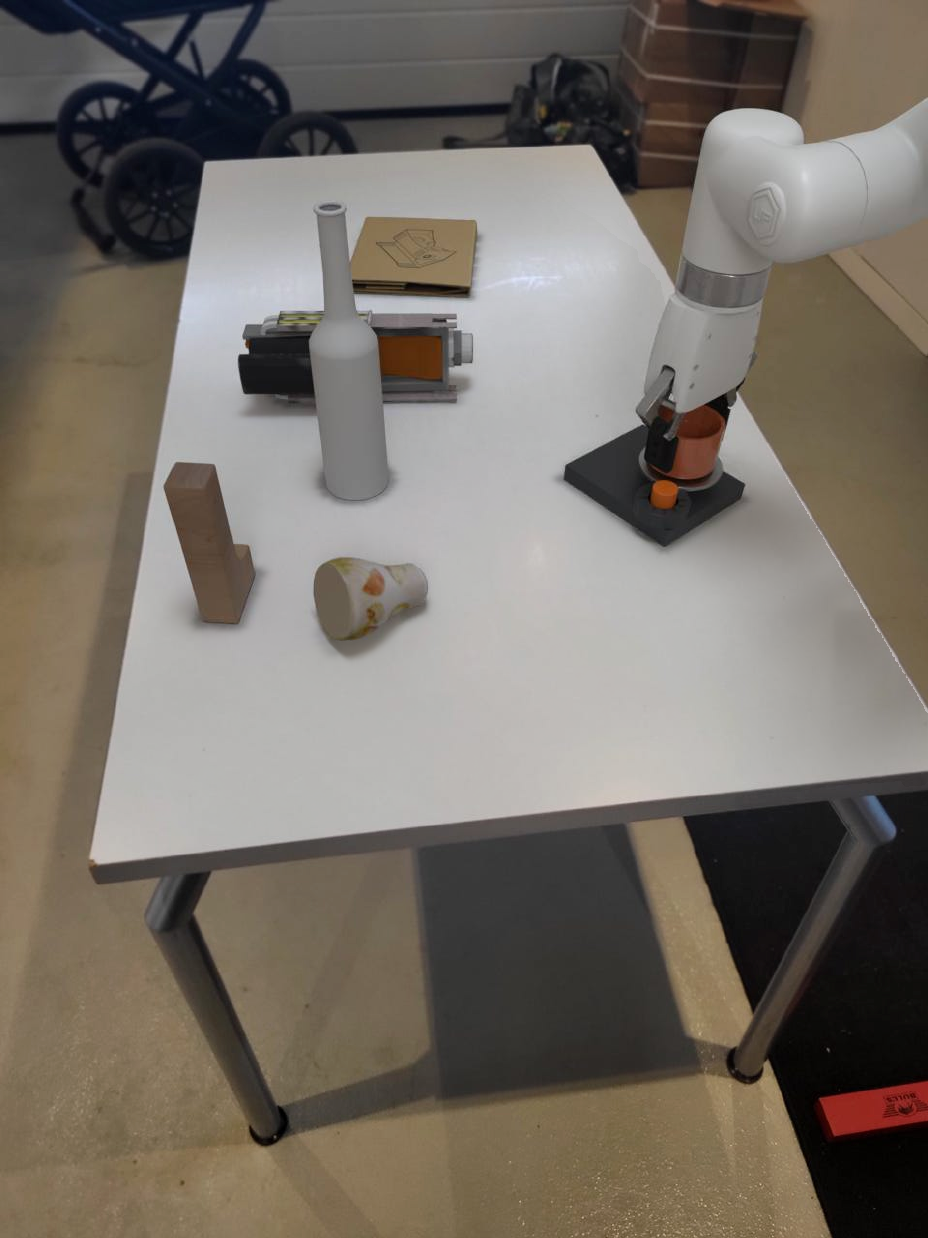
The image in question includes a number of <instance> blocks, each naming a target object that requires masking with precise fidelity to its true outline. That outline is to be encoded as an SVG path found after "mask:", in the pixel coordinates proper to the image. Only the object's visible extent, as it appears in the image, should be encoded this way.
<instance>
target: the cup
mask: <svg viewBox="0 0 928 1238" xmlns="http://www.w3.org/2000/svg"><path fill="white" fill-rule="evenodd" d="M674 402H675V401H674ZM675 403H676V402H675ZM673 414H674V411H672V410H670V409H668V408H667V407H666V408H665V410H664V412H663V414H662V416H661V418H663V419H664V420H665V421H666V422H667V423H668V424H669V422H670V420H671V418H672V416H673ZM725 428H726V429H727V426H726V425H725V420H724V418H723V417H722V416H721V415H720V414H719V413H718V412H717V411H716V410H714V409H712V408H710V407H709V406H706V405H702V406H700V407H698V408H696V409H694V410H692V411H689V412H686V414H685V416H684V418H683V420H682V422H681V424H680V426H679V428H678V430H677V432H676V434H675V436H677V437H678V438H679V441H678V446H677V450H676V455H675V459H674V464H673V468H672V471H670V472H669V473H664V472H663V471H661V470H659V469H658V468H656V467H654V466H653V465H651V464H650V465H651V466H652V467H653V468H654V469H656V470H657V471H658V472H660V473H662V474H664V475H667V476H670V477H673V478H678V479H696V478H700V477H703V476H706V475H708V474H709V473H710V472H711V471H712V470H713V469H714V467H715V464H716V462H717V459H718V457H719V455H720V451H721V448H722V447H721V446H722V443H723V441H724V438H723V436H724V437H725V434H724V432H725V433H726V430H725ZM722 440H723V441H722Z"/></svg>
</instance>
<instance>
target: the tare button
mask: <svg viewBox="0 0 928 1238" xmlns="http://www.w3.org/2000/svg"><path fill="white" fill-rule="evenodd" d="M677 493H678V487H677V485H676V484H674V483H673V482H671V481H667V480H661V481H657V482H655V483H654V485H653V488H652V493H651V498H650V502H651V504H652V505H653V506H655V507H658V508H663V509H668V508H672V507H673V506H674V505H675V502H676V498H677Z"/></svg>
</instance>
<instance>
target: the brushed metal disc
mask: <svg viewBox="0 0 928 1238" xmlns="http://www.w3.org/2000/svg"><path fill="white" fill-rule="evenodd" d="M644 453H645V448H644V449H643V450H642V451H641V453H640V455H639V459H638V465H639V468H640V470H641V472H642V473H643V474H644V476H645V477H647V478H648V479H649V480H650V481H652V482H653V483H655V482H657V481H661V480H667V481H671V482H673V483H674V484H676V485H677V487H678V491H698V490H703V489H706V488H709V487H711V486H713V485H714V484H716V483H717V482H718V481H719V479H720V478H721V476H722V473H723V471H724V464H723V462H722V459H721V457H719V456H718V459H717V462H716V464H715V467H714V469H713V470H712V471H711V472H710V473H709V474H708V475H706V476H703V477H700V478H696V479H678V478H673V477H670V476H667V475H664V474H662V473H660V472H658V471H657V470H656V469H654V468H653V467H652V466H651V465H650V463H648V462H646V461H645V460H644Z"/></svg>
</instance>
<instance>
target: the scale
mask: <svg viewBox="0 0 928 1238" xmlns="http://www.w3.org/2000/svg"><path fill="white" fill-rule="evenodd" d="M648 432H649V429H648V428H646V425H645V424H644V423H642V424H641V425H638V426H637V427H635V428H632V429H631V430H629V431H627V432H625V433H623V434H622V435H621V434H620V436H618V437H615V438H614V439H611V440H610V441H607V442H606V443H604V444H602V445H600V446H598V447H596V448H595V449H593V450H591V451H589V452H587V453H585V454H583V455H581V456H580V457H578V458H576V459H574V460H572V461H570V462H568V463H566V464H565V465H564V471H563V472H564V473H563V481H565V482H567V483H569V485H571V486H573V487H574V488H576V489H577V490H579V491H580V492H581V493H583V494H585V495H586V496H588V497H589V498H591V499H592V500H594V501H596V502H597V503H598V504H600V505H601V506H603V508H606V509H607V510H608V511H610V512H612V513H613V514H614V515H616V516H618V517H619V518H621V519H622V520H624V521H625V522H627V523H628V524H629V525H631V526H632V527H634V528H635V529H637V530H638V531H640V532H642V533H643V534H644V535H646V536H647V537H649V538H650V539H652V540H653V541H655V542H656V543H658V544H660V545H661V546H662V547H666V546H668V545H670V544H671V543H673V542H674V541H676V540H678V539H679V538H682V537H683V536H684V535H685V534H687V533H689V532H691V531H692V530H694V529H695V528H697V527H698V526H700V525H702V524H703V523H705V522H706V521H708V520H709V519H711V518H712V517H714V516H716V515H717V514H719V513H721V512H722V511H724V510H726V509H727V508H729V507H730V506H732V505H733V504H735V503H736V502H738V501H740V500H741V499H742V498H743V495H744V491H745V488H746V483H745V482H743V481H741V480H739V479H738V478H736V477H735V476H733V475H731V474H730V473H728V472H726V471H724V470H723V473H722V476H721V478H720V479H719V481H718V482H717V483H716V484H714V485H713V486H711V487H709V488H706V489H703V490H698V491H678V493H677V498H676V502H675V505H674V506H673V507H672V508H668V509H663V508H658V507H655V506H653V505H652V504H651V502H650V498H651V493H652V488H653V485H654V483H653V482H652V481H650V480H649V479H648V478H647V477H645V476H644V474H643V473H642V472H641V470H640V468H639V465H638V459H639V455H640V453H641V451H642V450H643V449H644V448H645V447H646V442H647V437H648Z"/></svg>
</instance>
